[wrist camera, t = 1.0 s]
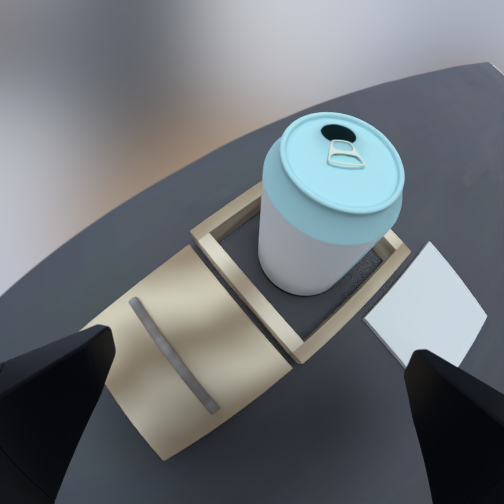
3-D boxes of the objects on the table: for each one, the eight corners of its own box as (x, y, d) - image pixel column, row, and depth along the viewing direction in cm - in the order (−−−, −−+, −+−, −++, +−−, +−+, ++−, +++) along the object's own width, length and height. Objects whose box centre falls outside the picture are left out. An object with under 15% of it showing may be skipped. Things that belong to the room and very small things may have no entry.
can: (240, 244, 23) (231, 135, 12) (307, 200, 24) (341, 89, 13) (295, 316, 21) (346, 262, 9) (361, 263, 22) (440, 179, 11)
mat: (483, 317, 20) (487, 316, 19) (430, 399, 18) (434, 400, 17) (426, 243, 23) (429, 241, 22) (361, 319, 20) (364, 317, 20)
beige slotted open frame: (397, 262, 22) (411, 251, 20) (166, 458, 16) (156, 468, 14) (303, 168, 25) (307, 151, 23) (81, 334, 20) (64, 330, 17)
